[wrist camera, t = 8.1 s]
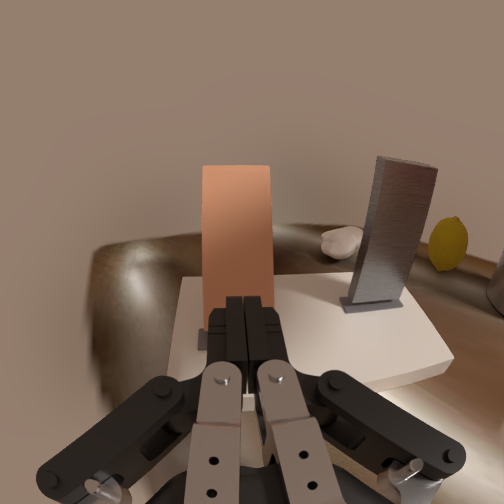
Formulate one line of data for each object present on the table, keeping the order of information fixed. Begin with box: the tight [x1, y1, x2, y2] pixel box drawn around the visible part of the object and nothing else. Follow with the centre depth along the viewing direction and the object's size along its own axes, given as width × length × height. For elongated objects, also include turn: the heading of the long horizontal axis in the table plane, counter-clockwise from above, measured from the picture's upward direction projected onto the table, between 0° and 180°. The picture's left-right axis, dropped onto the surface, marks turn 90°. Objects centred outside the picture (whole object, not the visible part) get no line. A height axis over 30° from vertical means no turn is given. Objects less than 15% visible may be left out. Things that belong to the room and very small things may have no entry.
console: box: [167, 272, 454, 411], centre depth 22 cm, size 22×13×2 cm, turn 95°
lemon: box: [428, 216, 468, 272], centre depth 30 cm, size 6×6×8 cm
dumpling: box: [321, 226, 363, 259], centre depth 34 cm, size 7×5×4 cm
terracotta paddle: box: [202, 165, 274, 331], centre depth 21 cm, size 5×1×12 cm
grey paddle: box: [348, 156, 438, 303], centre depth 20 cm, size 5×1×12 cm, turn 95°
